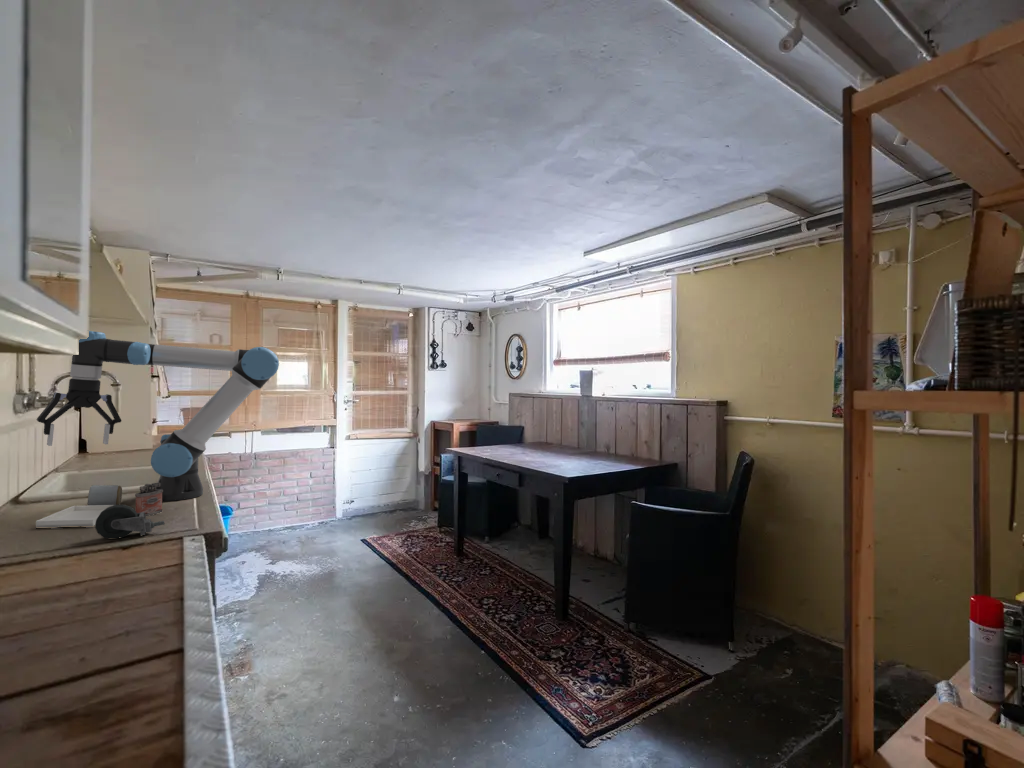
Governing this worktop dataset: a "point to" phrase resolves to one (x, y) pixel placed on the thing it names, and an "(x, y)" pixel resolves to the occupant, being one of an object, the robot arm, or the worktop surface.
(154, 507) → the red mechanical device
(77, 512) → the trough tray
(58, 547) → the worktop surface
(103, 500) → the grey piece
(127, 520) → the caster wheel
